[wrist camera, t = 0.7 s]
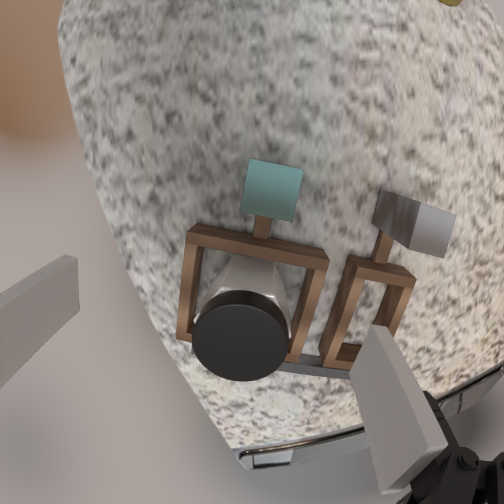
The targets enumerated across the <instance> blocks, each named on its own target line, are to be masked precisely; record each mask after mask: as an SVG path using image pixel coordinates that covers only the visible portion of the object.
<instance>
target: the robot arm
mask: <svg viewBox="0 0 504 504" xmlns="http://www.w3.org/2000/svg"><path fill="white" fill-rule="evenodd" d="M77 264H78V262H77V258H76V257H72V256H68V255H63V256H61V257H59V258H58V259H56V260H54V261H53V262H51V263H49V264H47V265H46V266H44V267H42V268H41V269H39V270H37V271H36V272H34V273H32V274H31V275H29V276H28V277H26V278H24V279H23V280H21V281H20V282H18V283H16V284H15V285H13V286H12V287H10V288H8V289H7V290H6V291H4V292H2V293H1V294H0V389H1V388H2V387H3V386H4V385H5V384H6V383H7V381H9V379H10V378H11V377H12V376H13V375H14V374H15V373H16V372H17V371H18V370H19V369H20V368H21V367H22V366H23V365H24V364H25V363H26V362H27V361H28V360H29V359H30V358H31V357H32V356H33V355H34V354H35V353H36V352H37V351H38V350H39V349H40V348H41V347H42V346H43V345H44V344H45V343H46V342H47V341H48V340H49V339H50V338H51V337H52V336H53V335H54V334H55V333H56V332H57V331H58V330H59V329H60V328H62V327H63V326H64V325H65V324H66V323H67V322H68V321H69V320H70V319H71V318H72V317H73V316H74V315H75V314H77V313H78V312H79V311H80V304H79V289H78V265H77ZM349 375H350V378H351V382H352V385H353V389H354V392H355V396H356V399H357V403H358V406H359V410H360V413H361V417H362V421H363V424H364V428H365V432H366V436H367V440H368V443H369V447H370V451H371V455H372V459H373V464H374V468H375V472H376V476H377V480H378V485H379V489H380V493H381V494H388V493H395V492H400V491H401V490H402V489H404V487H406V486H407V485H408V484H409V483H410V485H411V489H412V490H411V491H410V492H409V493H408V494H407V495H405V496H404V497H403V498H402V499H401V500H399V501H398V502H397V503H396V504H401V503H402V502H403V503H402V504H486V503H487V504H504V452H502V453H500V454H499V455H498V456H497V457H496V458H495V459H494V460H493V461H482V460H479V457H478V456H477V455H476V453H475V452H473V451H472V450H470V449H469V448H465V447H459V445H458V443H457V441H456V439H455V437H454V435H453V433H452V431H451V429H450V427H449V425H448V423H447V421H446V419H444V418H445V417H444V415H443V413H442V411H440V410H441V409H440V407H439V405H438V403H437V402H436V400H435V399H434V398H433V397H432V396H431V395H430V394H429V393H428V392H427V391H422V390H421V388H420V386H419V384H418V382H417V380H416V378H415V376H414V374H413V373H412V371H411V369H410V367H409V365H408V363H407V362H406V360H405V358H404V356H403V354H402V353H401V351H400V349H399V347H398V346H397V344H396V342H395V340H394V339H393V337H392V335H391V334H390V332H389V330H388V328H387V327H385V326H379V325H373V324H371V327H370V329H369V331H368V333H367V336H366V338H365V340H364V342H363V345H362V347H361V349H360V351H359V353H358V355H357V358H356V360H355V362H354V364H353V366H352V368H351V370H350V372H349Z"/></svg>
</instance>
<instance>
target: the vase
mask: <svg viewBox="0 0 504 504" xmlns="http://www.w3.org/2000/svg"><path fill="white" fill-rule="evenodd" d="M440 1H441V2H443V3H445V4H447V5H450V6H457V5H458V4H459V3H460V2H461V1H462V0H440Z"/></svg>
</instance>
